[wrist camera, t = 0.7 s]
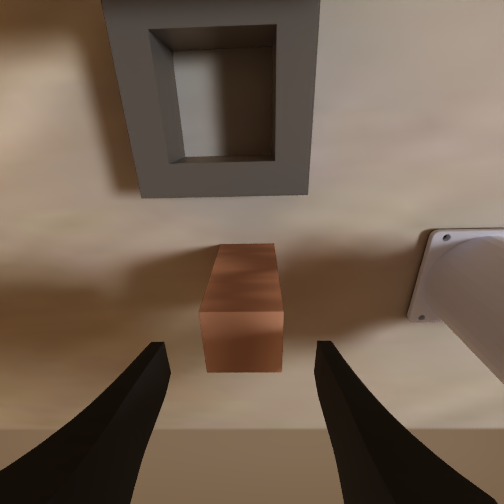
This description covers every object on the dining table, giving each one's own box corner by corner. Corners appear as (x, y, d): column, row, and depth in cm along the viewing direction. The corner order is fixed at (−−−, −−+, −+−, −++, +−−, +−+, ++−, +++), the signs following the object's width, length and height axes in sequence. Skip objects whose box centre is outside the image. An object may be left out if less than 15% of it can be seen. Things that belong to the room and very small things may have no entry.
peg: (274, 243, 20) (283, 311, 12) (273, 289, 21) (281, 372, 14) (220, 244, 20) (198, 312, 12) (224, 289, 21) (207, 372, 14)
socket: (307, 2, 14) (322, -36, 10) (298, 182, 18) (307, 194, 14) (132, 9, 14) (95, -26, 11) (162, 185, 18) (141, 198, 15)
